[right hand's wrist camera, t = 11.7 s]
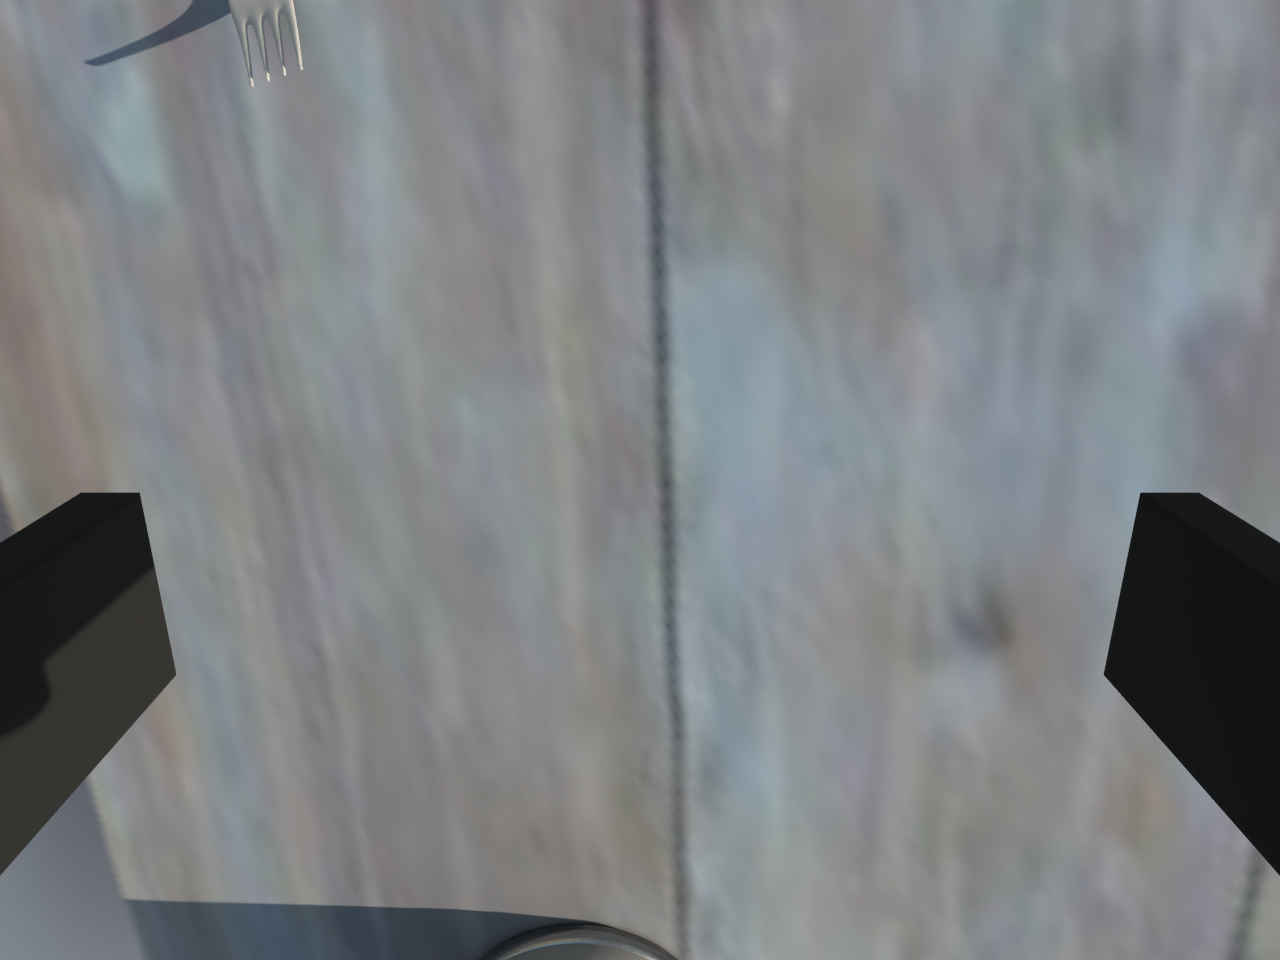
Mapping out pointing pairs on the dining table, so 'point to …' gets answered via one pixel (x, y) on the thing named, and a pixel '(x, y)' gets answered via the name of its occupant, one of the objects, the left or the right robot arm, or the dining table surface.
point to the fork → (252, 6)
